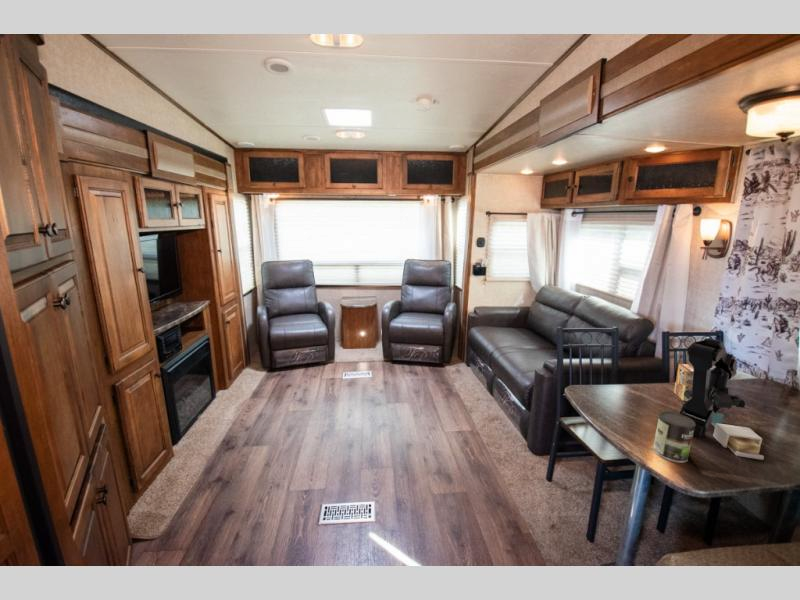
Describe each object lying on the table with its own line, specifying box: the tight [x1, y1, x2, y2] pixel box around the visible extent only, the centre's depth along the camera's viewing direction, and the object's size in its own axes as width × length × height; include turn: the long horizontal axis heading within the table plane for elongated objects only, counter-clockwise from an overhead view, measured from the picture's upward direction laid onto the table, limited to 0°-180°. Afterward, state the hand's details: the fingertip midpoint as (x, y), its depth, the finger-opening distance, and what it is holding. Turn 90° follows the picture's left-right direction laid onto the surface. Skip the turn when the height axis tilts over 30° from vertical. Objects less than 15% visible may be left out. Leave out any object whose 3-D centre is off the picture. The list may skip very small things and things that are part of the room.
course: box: [712, 423, 763, 448], centre depth 127 cm, size 10×24×7 cm, turn 163°
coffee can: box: [652, 410, 696, 464], centre depth 122 cm, size 10×10×14 cm
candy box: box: [673, 363, 694, 402], centre depth 163 cm, size 9×4×15 cm, turn 165°
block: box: [727, 436, 761, 455], centre depth 123 cm, size 6×6×4 cm
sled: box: [702, 412, 765, 461], centre depth 130 cm, size 8×24×5 cm, turn 163°
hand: (709, 416), depth 143 cm, fingers closed
